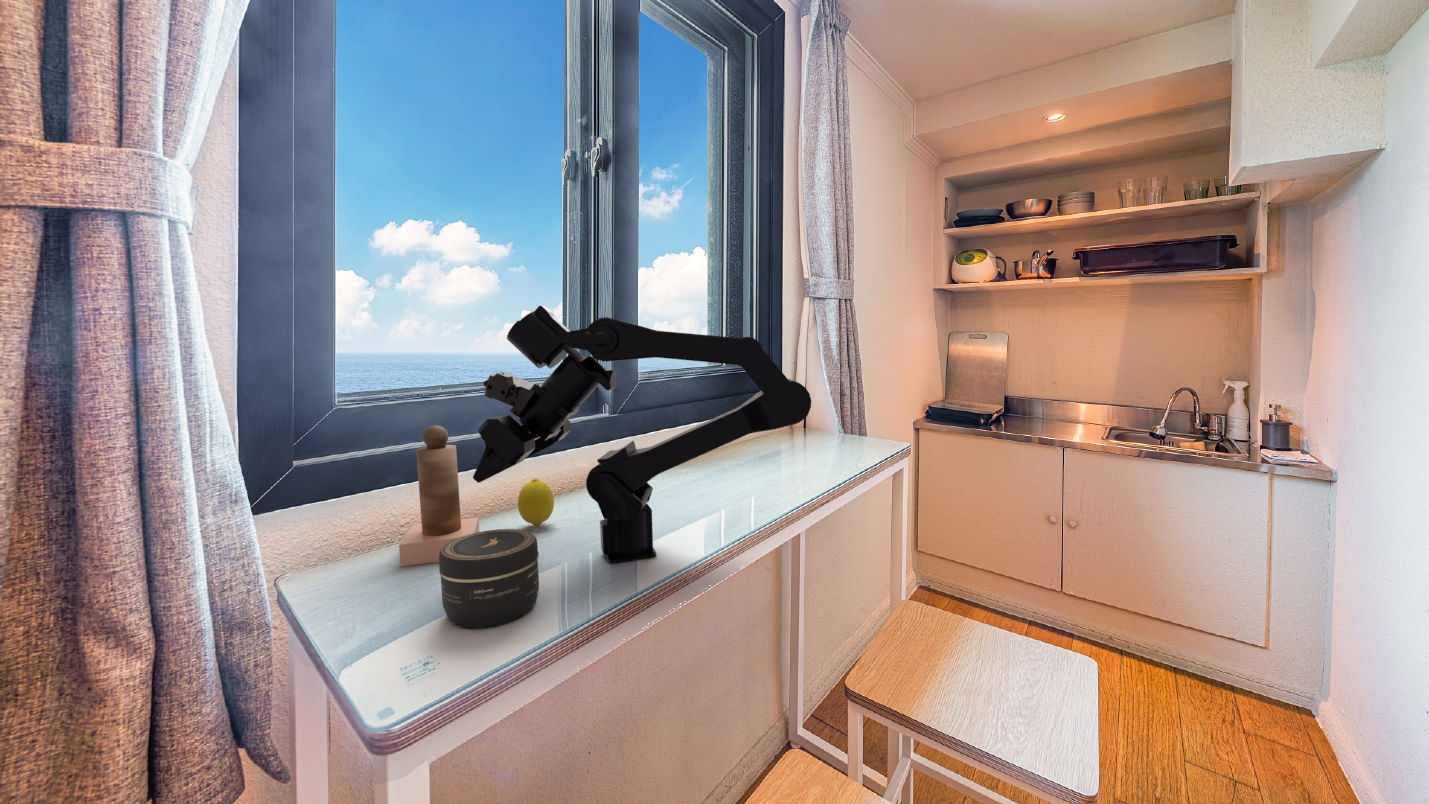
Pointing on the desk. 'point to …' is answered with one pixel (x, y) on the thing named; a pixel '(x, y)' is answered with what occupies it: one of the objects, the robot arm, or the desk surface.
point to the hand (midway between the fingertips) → (492, 471)
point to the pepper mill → (438, 484)
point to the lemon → (535, 502)
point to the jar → (489, 577)
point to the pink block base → (430, 543)
